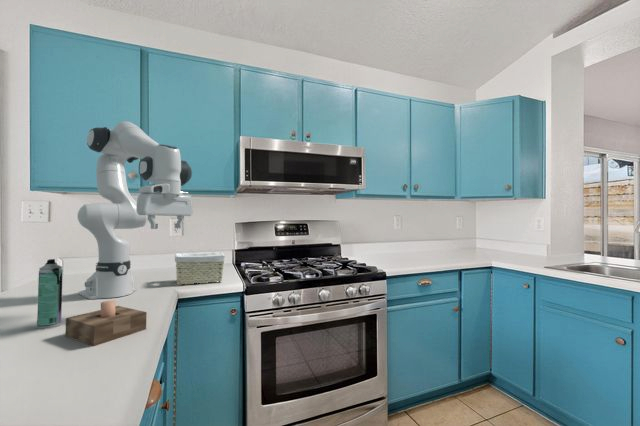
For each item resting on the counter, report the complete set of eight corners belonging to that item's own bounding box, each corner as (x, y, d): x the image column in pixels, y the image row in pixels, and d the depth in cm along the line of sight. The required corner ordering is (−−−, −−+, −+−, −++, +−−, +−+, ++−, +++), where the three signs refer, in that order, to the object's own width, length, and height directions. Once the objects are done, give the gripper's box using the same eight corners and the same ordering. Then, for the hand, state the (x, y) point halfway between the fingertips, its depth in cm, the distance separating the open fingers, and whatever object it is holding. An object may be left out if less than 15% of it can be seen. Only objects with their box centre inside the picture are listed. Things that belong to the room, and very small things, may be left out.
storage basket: (221, 277, 175) (222, 251, 176) (225, 283, 161) (225, 254, 161) (174, 280, 166) (175, 252, 166) (174, 286, 151) (174, 256, 151)
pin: (98, 327, 89) (98, 302, 89) (111, 324, 92) (111, 300, 92) (103, 329, 87) (104, 304, 87) (117, 326, 90) (117, 301, 90)
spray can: (65, 322, 97) (67, 258, 98) (51, 329, 92) (53, 260, 92) (47, 322, 97) (49, 258, 97) (31, 329, 91) (33, 260, 92)
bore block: (65, 336, 86) (66, 317, 86) (117, 321, 99) (118, 305, 99) (93, 345, 80) (94, 326, 80) (146, 329, 92) (146, 312, 92)
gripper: (185, 192, 123) (184, 227, 122) (134, 187, 104) (133, 228, 104) (196, 192, 120) (196, 228, 119) (146, 186, 102) (145, 229, 101)
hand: (166, 228), depth 112 cm, fingers open, 8 cm apart
